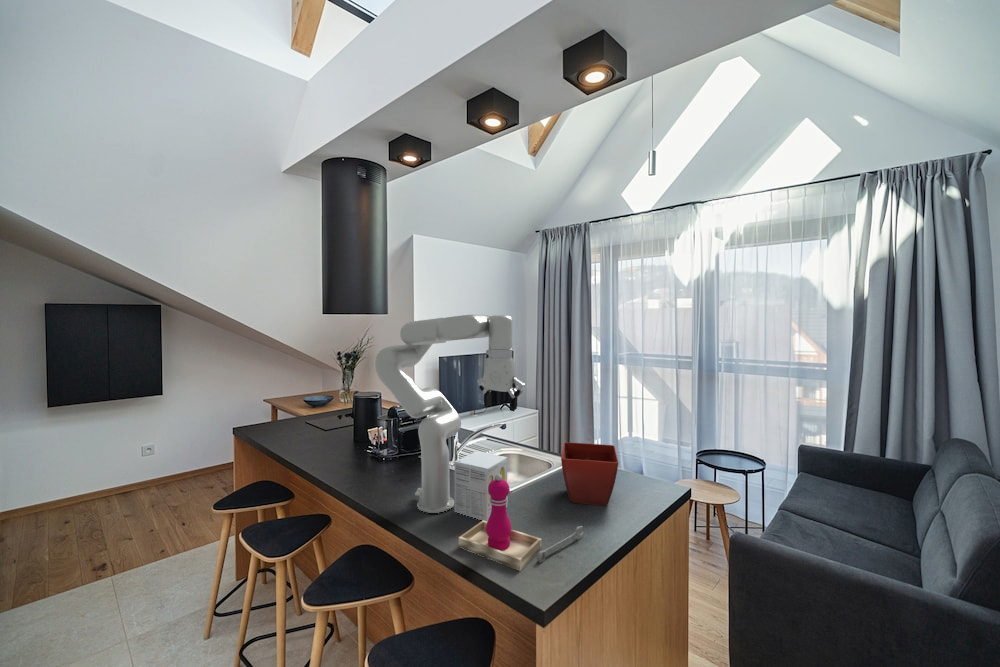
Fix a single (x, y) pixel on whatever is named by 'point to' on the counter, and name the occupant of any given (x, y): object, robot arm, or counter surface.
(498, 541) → the pepper mill
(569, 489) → the plant pot
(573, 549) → the counter surface
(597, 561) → the counter surface
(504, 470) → the supplement box
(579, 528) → the combination wrench
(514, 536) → the wooden tray
